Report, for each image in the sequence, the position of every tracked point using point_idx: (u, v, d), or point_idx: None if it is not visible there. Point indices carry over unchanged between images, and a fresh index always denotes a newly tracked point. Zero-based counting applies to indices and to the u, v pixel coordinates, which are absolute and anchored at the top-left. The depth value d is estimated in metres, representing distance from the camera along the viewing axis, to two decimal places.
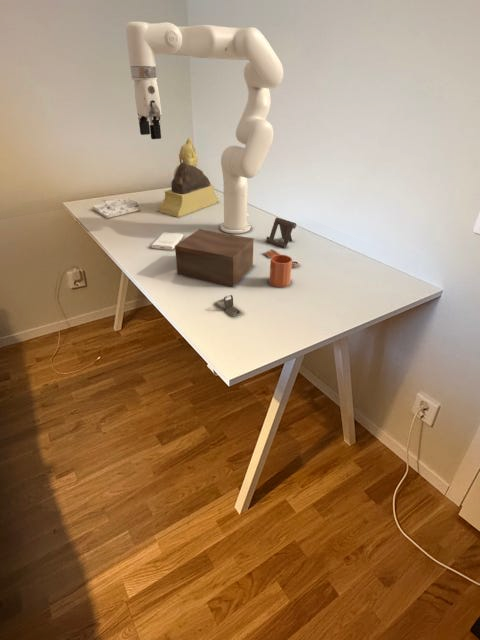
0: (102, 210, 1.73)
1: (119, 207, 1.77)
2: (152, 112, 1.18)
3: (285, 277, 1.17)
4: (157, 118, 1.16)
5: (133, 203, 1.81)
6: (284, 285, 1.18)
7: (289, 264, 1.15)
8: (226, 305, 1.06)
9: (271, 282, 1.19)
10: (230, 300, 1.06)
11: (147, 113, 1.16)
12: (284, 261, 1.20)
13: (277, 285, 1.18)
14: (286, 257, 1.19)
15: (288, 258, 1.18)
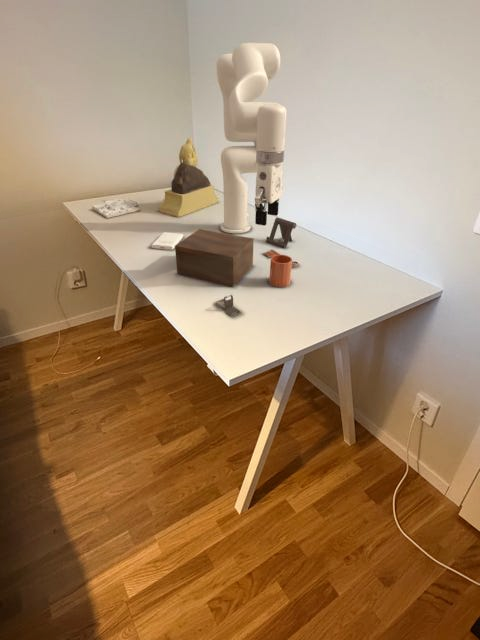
0: (102, 210, 1.73)
1: (119, 207, 1.77)
2: (264, 197, 1.06)
3: (285, 277, 1.17)
4: (257, 206, 1.04)
5: (133, 203, 1.81)
6: (284, 285, 1.18)
7: (289, 264, 1.15)
8: (226, 305, 1.06)
9: (271, 282, 1.19)
10: (230, 300, 1.06)
11: None
12: (284, 261, 1.20)
13: (277, 285, 1.18)
14: (286, 257, 1.19)
15: (288, 258, 1.18)
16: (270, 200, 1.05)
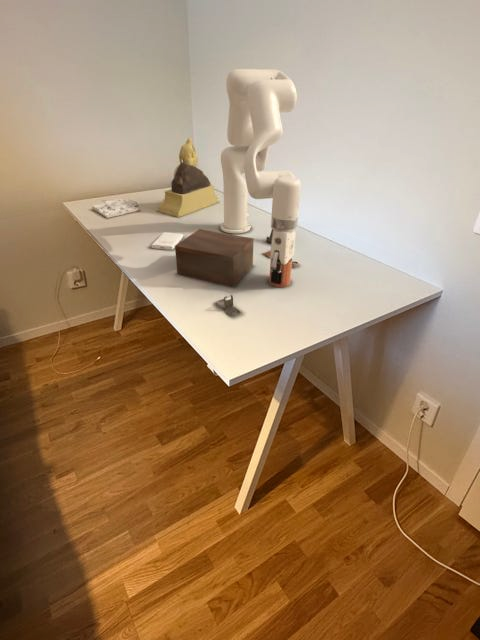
0: (102, 210, 1.73)
1: (119, 207, 1.77)
2: (279, 258, 1.14)
3: (285, 277, 1.17)
4: (274, 269, 1.12)
5: (133, 203, 1.81)
6: (284, 285, 1.18)
7: (289, 264, 1.15)
8: (226, 305, 1.06)
9: (271, 282, 1.19)
10: (230, 300, 1.06)
11: (270, 259, 1.13)
12: None
13: (277, 285, 1.18)
14: None
15: None
16: (284, 262, 1.11)
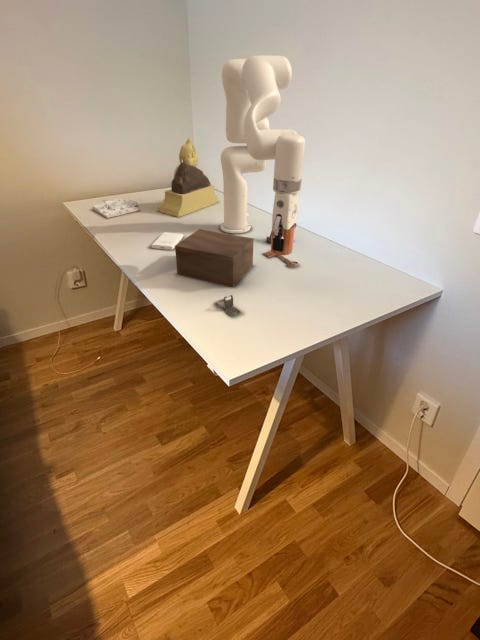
0: (102, 210, 1.73)
1: (119, 207, 1.77)
2: (281, 224, 1.08)
3: (287, 244, 1.11)
4: (276, 234, 1.06)
5: (133, 203, 1.81)
6: (286, 253, 1.13)
7: (292, 230, 1.09)
8: (226, 305, 1.06)
9: (272, 250, 1.14)
10: (230, 300, 1.06)
11: (272, 224, 1.07)
12: None
13: (279, 253, 1.13)
14: None
15: None
16: (287, 227, 1.06)
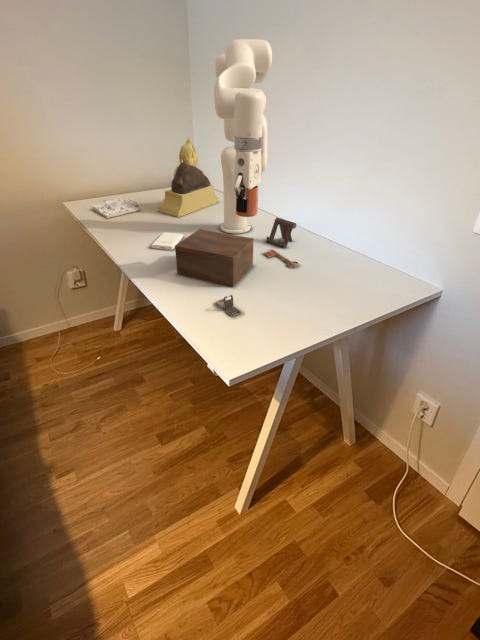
0: (102, 210, 1.73)
1: (119, 207, 1.77)
2: (244, 184, 1.08)
3: (251, 205, 1.12)
4: (238, 193, 1.07)
5: (133, 203, 1.81)
6: (251, 214, 1.13)
7: (255, 191, 1.10)
8: (226, 305, 1.06)
9: (237, 212, 1.14)
10: (230, 300, 1.06)
11: (234, 184, 1.08)
12: None
13: (243, 215, 1.13)
14: None
15: None
16: (248, 186, 1.06)
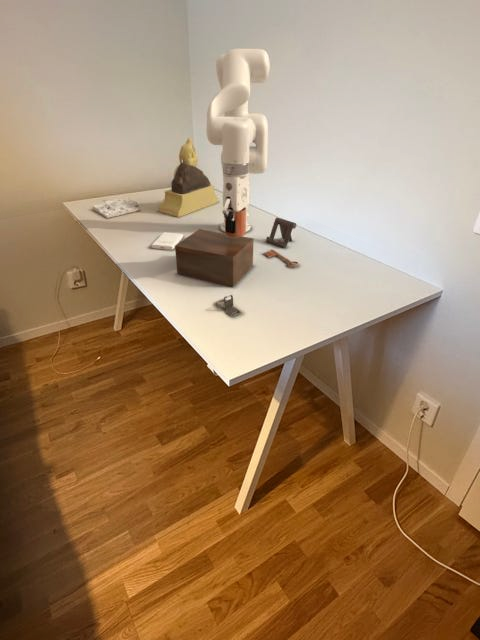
0: (102, 210, 1.73)
1: (119, 207, 1.77)
2: None
3: (239, 226, 1.17)
4: (226, 216, 1.12)
5: (133, 203, 1.81)
6: (239, 234, 1.19)
7: (243, 213, 1.15)
8: (226, 305, 1.06)
9: (226, 233, 1.19)
10: (230, 300, 1.06)
11: (223, 206, 1.13)
12: None
13: (232, 235, 1.18)
14: None
15: (243, 208, 1.18)
16: (236, 209, 1.12)
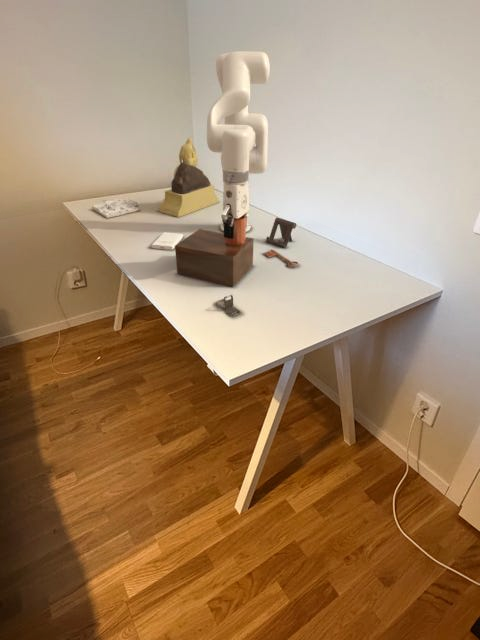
0: (102, 210, 1.73)
1: (119, 207, 1.77)
2: (231, 213, 1.15)
3: (239, 234, 1.19)
4: (224, 221, 1.12)
5: (133, 203, 1.81)
6: (239, 242, 1.20)
7: (242, 221, 1.17)
8: (226, 305, 1.06)
9: (226, 240, 1.21)
10: (230, 300, 1.06)
11: None
12: (239, 219, 1.22)
13: (232, 243, 1.20)
14: None
15: (243, 216, 1.20)
16: (236, 216, 1.13)
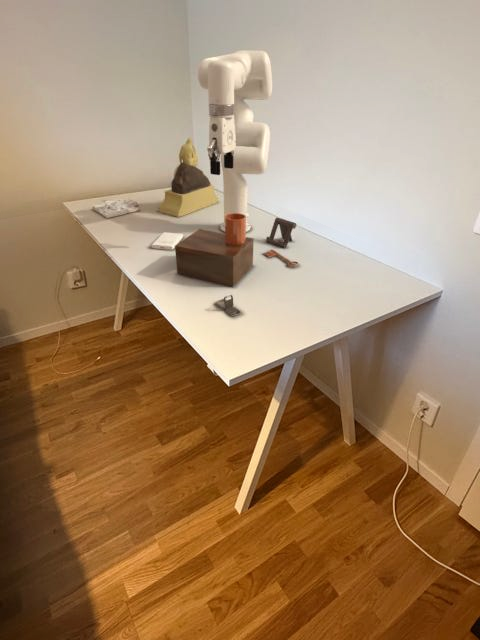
0: (102, 210, 1.73)
1: (119, 207, 1.77)
2: (218, 148, 1.17)
3: (239, 234, 1.19)
4: (210, 155, 1.15)
5: (133, 203, 1.81)
6: (239, 242, 1.20)
7: (242, 221, 1.17)
8: (226, 305, 1.06)
9: (226, 240, 1.21)
10: (230, 300, 1.06)
11: None
12: (239, 219, 1.22)
13: (232, 243, 1.20)
14: (241, 215, 1.20)
15: (243, 216, 1.20)
16: (222, 150, 1.15)
